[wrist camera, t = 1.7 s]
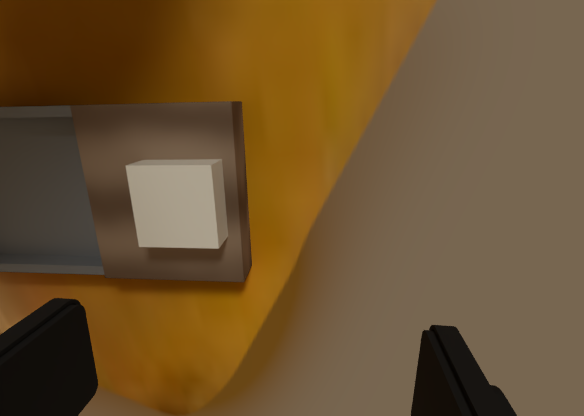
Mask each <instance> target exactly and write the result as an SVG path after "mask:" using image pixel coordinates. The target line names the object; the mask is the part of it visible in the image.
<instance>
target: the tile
mask: <svg viewBox="0 0 584 416" xmlns="http://www.w3.org/2000/svg"><path fill="white" fill-rule="evenodd" d="M126 172H127V178H128V184H129V190H130V196H131V202H132V208H133V214H134V220H135V226H136V232H137V238H138V244H139V247H165V248H212V249H219V248H220V246H221V245H222V244H223V242H224V241H225V240H226V238H227V237H228V228H227V216H226V204H225V192H224V179H223V167H222V159H200V160H141V161H138V162H135V163H132V164H129V165H126Z"/></svg>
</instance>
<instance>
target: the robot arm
mask: <svg viewBox="0 0 584 416" xmlns="http://www.w3.org/2000/svg"><path fill="white" fill-rule="evenodd" d="M97 387H98V379H97V374H96V368H95V363H94V357H93V352H92V346H91V341H90V335H89V330H88V324H87V319H86V313H85V309H84V307H83V306H82V305H81V304H80V302H79V301H78V300H75V299H63V298H54V299H52V300H50V301H49V302H47V303H46V304H44V305H43V306H41V307H40V308H39V309H37V310H36V311H34V312H33V313H31V314H30V315H28V316H27V317H25V318H24V319H23V320H21V321H20V322H18V323H17V324H15V325H14V326H12V327H11V328H9V329H8V330H7V331H5V332H4V333H2V334H1V335H0V416H78V415H79V413H80V412H81V411H82V410H83V409H84V407H85V406H86V405H87V404H88V402H89V401H90V400H91V399H92V398H93V396H94V395H95V393H96V390H97ZM411 416H517V415H516V413H515V412H514V410H513V408H512V407H511V405H510V404H509V402H508V400H507V399H506V397H505V396H504V394H503V393H502V391H501V390H500V389H499V388H498V387H496V386H493V385H490V384H489V383H488V381H487V379H486V377H485V376H484V374H483V372H482V371H481V369H480V367H479V365H478V364H477V362H476V360H475V358H474V357H473V355H472V353H471V352H470V350H469V348H468V346H467V345H466V343H465V341H464V340H463V338H462V336H461V334H460V333H459V331H458V329H457V328H456V327H454V326H441V325H432V326H431V327H430V329H429V330H424V331H423V332H422V338H421V345H420V353H419V359H418V366H417V374H416V381H415V389H414V396H413V403H412V410H411Z"/></svg>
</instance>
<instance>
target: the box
mask: <svg viewBox="0 0 584 416" xmlns="http://www.w3.org/2000/svg"><path fill="white" fill-rule="evenodd" d="M0 272H27V273H60V274H93V275H104V270H103V265H102V260H101V255H100V250H99V245H98V240H97V235H96V231H95V226H94V221H93V216H92V211H91V206H90V201H89V196H88V192H87V187H86V182H85V177H84V172H83V167H82V162H81V157H80V152H79V148H78V143H77V138H76V133H75V128H74V123H73V118H72V113H71V109H70V105H66V106H24V107H0Z"/></svg>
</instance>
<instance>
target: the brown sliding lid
mask: <svg viewBox="0 0 584 416" xmlns="http://www.w3.org/2000/svg"><path fill="white" fill-rule="evenodd" d="M70 109H71V113H72V118H73V123H74V128H75V133H76V138H77V143H78V148H79V152H80V157H81V162H82V167H83V172H84V177H85V182H86V187H87V192H88V196H89V201H90V206H91V211H92V216H93V221H94V226H95V231H96V235H97V240H98V245H99V250H100V255H101V260H102V265H103V270H104V275H105V278H127V279H159V280H191V281H223V282H244V281H245V279H246V277H247V275H248V273H249V270H250V268H251V266H252V260H251V244H250V228H249V212H248V196H247V180H246V164H245V148H244V132H243V116H242V102H190V103H148V104H106V105H70ZM200 159H222V167H223V179H224V192H225V204H226V216H227V228H228V237H227V238H226V240H225V241H224V242H223V244H222V245H221V246H220V248H219V249H212V248H165V247H139V244H138V238H137V232H136V226H135V220H134V214H133V208H132V202H131V196H130V190H129V184H128V178H127V172H126V165H129V164H132V163H135V162H138V161H141V160H200Z"/></svg>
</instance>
